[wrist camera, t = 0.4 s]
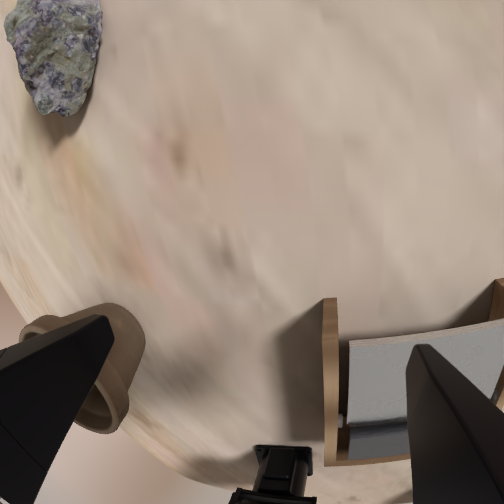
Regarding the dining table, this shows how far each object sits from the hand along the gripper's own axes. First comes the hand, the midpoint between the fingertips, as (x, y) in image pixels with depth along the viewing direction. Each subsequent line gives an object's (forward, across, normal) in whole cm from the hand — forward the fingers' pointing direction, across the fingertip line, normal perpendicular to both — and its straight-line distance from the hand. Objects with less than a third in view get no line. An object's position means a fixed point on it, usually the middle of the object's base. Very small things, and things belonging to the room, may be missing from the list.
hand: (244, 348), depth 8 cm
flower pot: (+14, +17, +12) cm, 25 cm away
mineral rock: (+16, +20, -17) cm, 31 cm away
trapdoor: (+10, -11, +12) cm, 19 cm away
